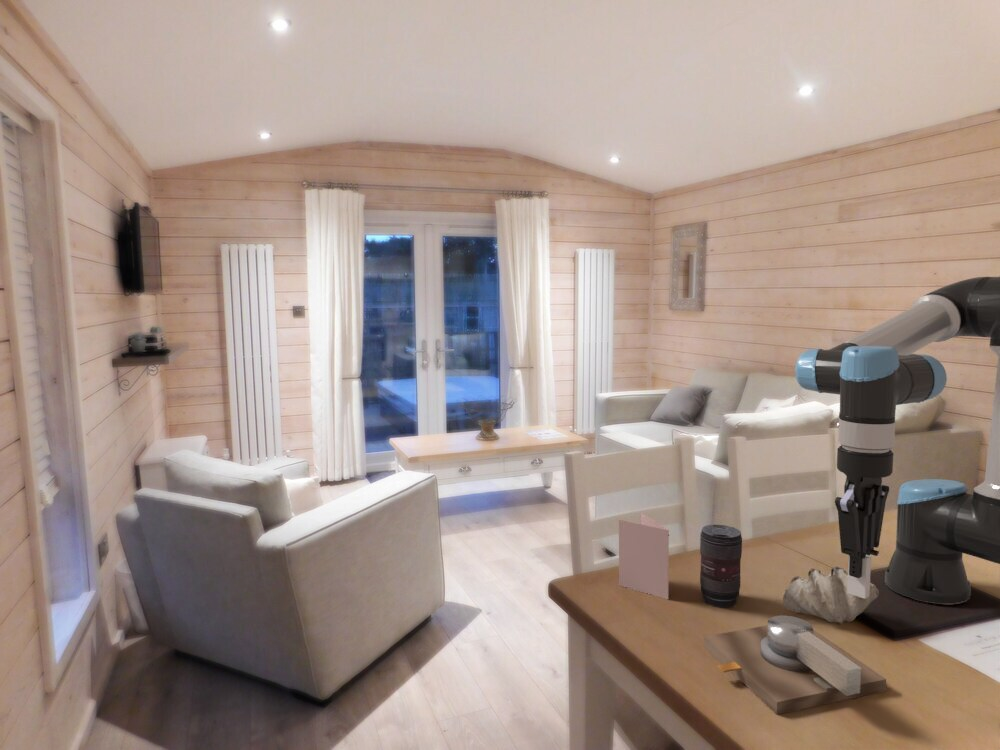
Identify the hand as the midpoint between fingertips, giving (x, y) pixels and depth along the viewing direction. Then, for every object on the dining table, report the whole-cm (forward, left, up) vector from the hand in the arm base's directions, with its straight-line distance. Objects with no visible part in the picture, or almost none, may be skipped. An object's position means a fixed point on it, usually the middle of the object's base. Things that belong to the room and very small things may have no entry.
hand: (858, 594), depth 104 cm
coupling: (+6, -3, -12) cm, 14 cm away
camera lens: (+3, -33, -16) cm, 37 cm away
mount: (+8, -8, -16) cm, 19 cm away
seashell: (-13, -20, -16) cm, 28 cm away
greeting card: (+16, -42, -16) cm, 47 cm away
